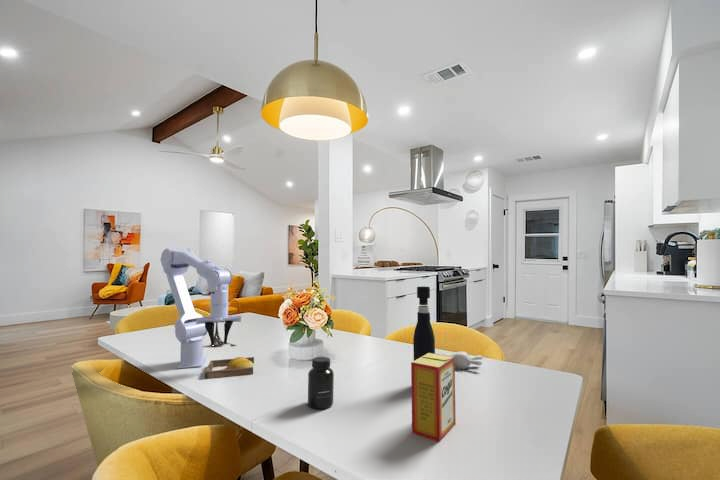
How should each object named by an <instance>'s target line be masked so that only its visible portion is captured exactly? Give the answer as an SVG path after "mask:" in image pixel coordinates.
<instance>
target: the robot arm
mask: <svg viewBox="0 0 720 480" xmlns="http://www.w3.org/2000/svg"><path fill="white" fill-rule="evenodd" d="M160 263H161V267H162V270H163V272H164V274H166V278H167V281H168V284H169V287H170V290H171V293H172V297H173V299H174V300H173V301H174V303H175V307H176V310H177V312H178V316H179V317H178V318H177V319H176V321H175V322H174V323H173V324H174V328H175V329H174V332H175V333H174V334H175V338H176V339H177V340H178V342H180V363H179V364H178V366H177V369H186V368H187V369H188V368H199V367H202V366H203V364H204V363H205V361H206V357H204V355H203V354H204V353H203V351H204V349H203V348H204V345H203V344H204V342H203V339H205V336H206V335H208V336H209V339H210V343H211V344H210V345H213V344H214V336H215V335H214V334H215V324H216V323H224V327H223V328H224V338H223V342H224V345H227V344H226V343H228V336H229V332H230V330H231V328H232V325H233V322H237V323H238V322H240V323H241V322H242V315H241V314H237V315H231V314H230V315H229V285H231V283H232V280H233V275H232V272H231V270H230V269H229V268H224V269H222V268H221V267H220V266H219V265H216V264H214V263H213V262H212V260H209V259H206V260H202V259H201V258H200V257H198V256H197V254H195V253H194V251H193V250H191V249H190V248H186V249H184V248H181V249H180V248H165V249H164V250H163V251H162V252H161V256H160ZM190 267H192V268H194V269H196V270H195V271H196V274H198V275H199V276H200V277H202V278H204V279H205V280H206V283H207V285H208V291H209V292H210V309H209V311H210V312H209V313H210V315H209V316H203V314H201V313H199V312H197V311H196V310H195V307H194V304H193V301H192V298H191V296H190V292H189V290H188V288H187V287H188V286H187V283H186V280H185V277H184V274H185V273H187V272H188V271H189V268H190Z"/></svg>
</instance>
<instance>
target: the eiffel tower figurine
mask: <svg viewBox="0 0 720 480" xmlns="http://www.w3.org/2000/svg"><path fill="white" fill-rule="evenodd" d="M219 334H220V333H219V328H218V323H215V329H214V344H213V345H214V346H212V345H211V344H210V345H209V348H222V347H223V346H224V345H230V347H236V346H238V345H236V344H234V343H233V344H232V343H230V342H227V343H226V344H224V341H222V338H221V337H220V335H219Z"/></svg>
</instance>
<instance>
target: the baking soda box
mask: <svg viewBox="0 0 720 480" xmlns="http://www.w3.org/2000/svg"><path fill="white" fill-rule="evenodd" d="M410 364H411V365H410V366H411V367H410V369H411V370H410V371H411V373H410V376H411V379H410V380H411V433H412V434H415V435H417V436H421V437H423V438H426V439H429V440H432V441H435V442H438V443H440V442H441V441H442V440H443V439H444V438H445V437H446V436H447V435H448V434H449V432H450V431H452V429H453V427H455V426H456V424H457V423H456V374H455V370H456V368H455V362H454V357H451V356H446V355H443V354H441V353H439V354H438V353H435V354H434V353H427V354H426V355H424V356H422V357H420V358H418V359H417V360H415V361H414V360H412V361H411V363H410Z"/></svg>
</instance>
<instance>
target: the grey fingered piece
mask: <svg viewBox="0 0 720 480" xmlns="http://www.w3.org/2000/svg"><path fill="white" fill-rule="evenodd" d="M442 355H446V356H451V357H454V362H455V369H457V370H466V369H467V368H468V367H469V366H470V365H476V366H481V365H483V362H482V360H483V356H482V355H480V354H478V355H474V356H470V355H469V353H467V351H456V352H453V353H448V352H446V353H443V354H442Z"/></svg>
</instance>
